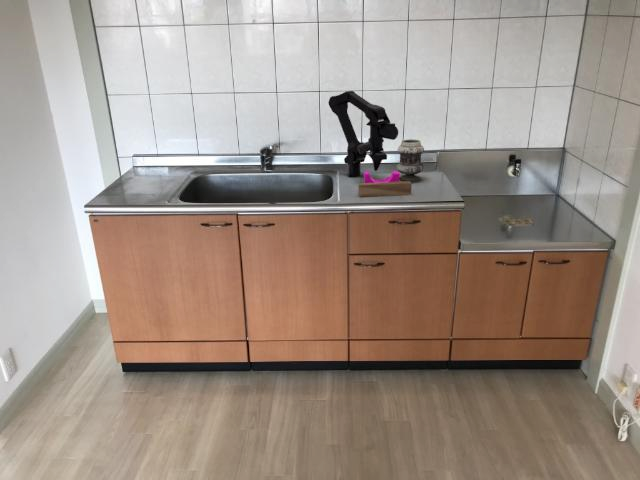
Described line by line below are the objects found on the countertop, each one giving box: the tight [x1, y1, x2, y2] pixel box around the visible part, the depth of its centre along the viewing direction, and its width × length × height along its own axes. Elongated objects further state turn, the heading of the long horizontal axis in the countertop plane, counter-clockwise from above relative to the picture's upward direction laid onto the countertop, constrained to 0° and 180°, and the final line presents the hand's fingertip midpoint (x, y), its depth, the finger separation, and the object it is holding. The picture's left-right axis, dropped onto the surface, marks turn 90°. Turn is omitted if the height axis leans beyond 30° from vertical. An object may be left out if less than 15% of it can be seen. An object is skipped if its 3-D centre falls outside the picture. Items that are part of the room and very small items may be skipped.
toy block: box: [363, 170, 401, 183], centre depth 223 cm, size 15×6×8 cm, turn 89°
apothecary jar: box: [396, 138, 425, 183], centre depth 231 cm, size 12×12×18 cm
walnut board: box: [357, 180, 412, 198], centre depth 214 cm, size 3×22×5 cm, turn 96°
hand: (375, 170), depth 232 cm, fingers closed
